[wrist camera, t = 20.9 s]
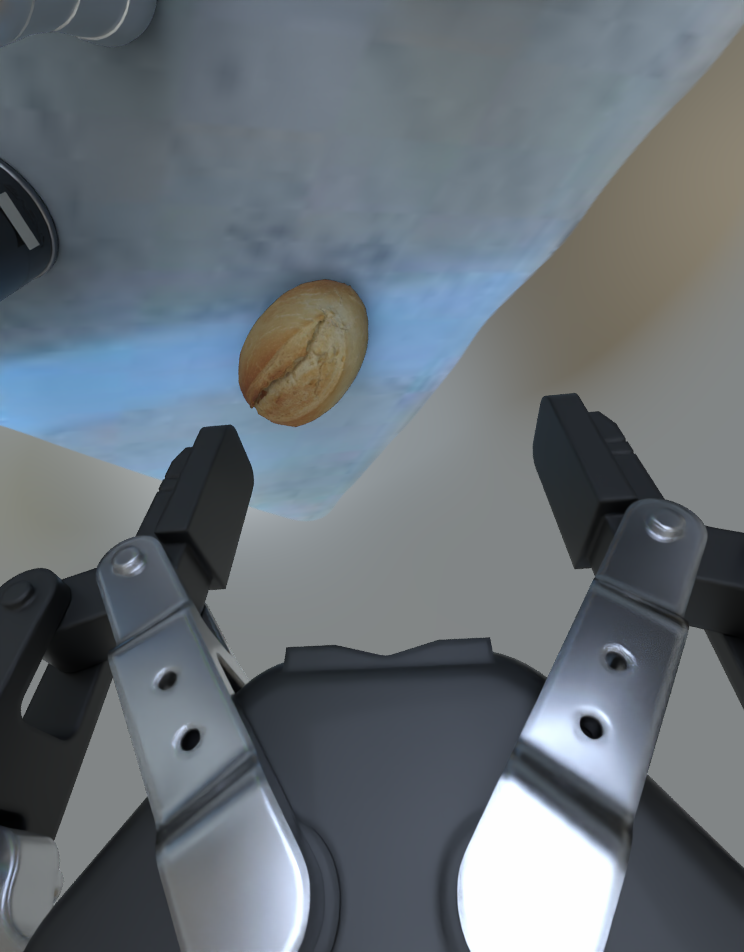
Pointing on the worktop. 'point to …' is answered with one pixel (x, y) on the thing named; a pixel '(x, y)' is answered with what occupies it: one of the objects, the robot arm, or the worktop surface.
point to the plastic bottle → (76, 19)
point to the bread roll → (304, 352)
